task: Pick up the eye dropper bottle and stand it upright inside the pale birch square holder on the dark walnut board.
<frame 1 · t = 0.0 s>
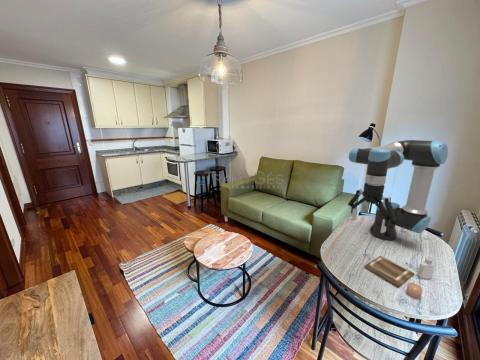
hand: (367, 225, 94), 28 cm above the table, fingers open, 13 cm apart
eye dropper bottle: (424, 277, 99), on the table
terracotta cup: (413, 294, 89), on the table
board: (388, 271, 103), on the table
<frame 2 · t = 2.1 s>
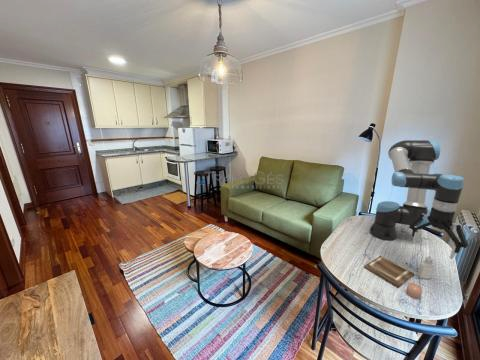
hand: (431, 249, 94), 16 cm above the table, fingers open, 13 cm apart
nothing on the table moved.
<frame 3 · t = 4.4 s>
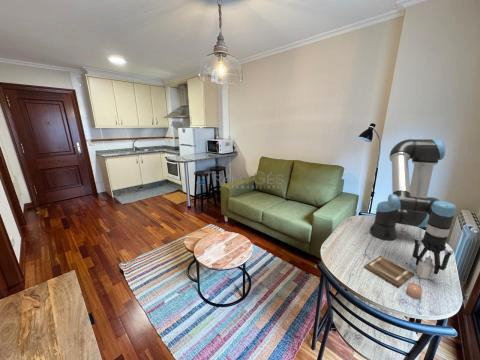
hand: (424, 274, 98), 1 cm above the table, fingers closed on eye dropper bottle, 4 cm apart
eye dropper bottle: (424, 277, 99), on the table, touching gripper
everything else where it was.
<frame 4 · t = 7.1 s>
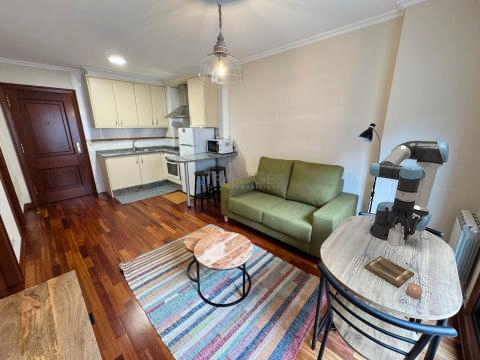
hand: (395, 242, 98), 18 cm above the table, fingers closed on eye dropper bottle, 4 cm apart
eye dropper bottle: (394, 244, 98), point 16 cm above the table, touching gripper
everything else where it was.
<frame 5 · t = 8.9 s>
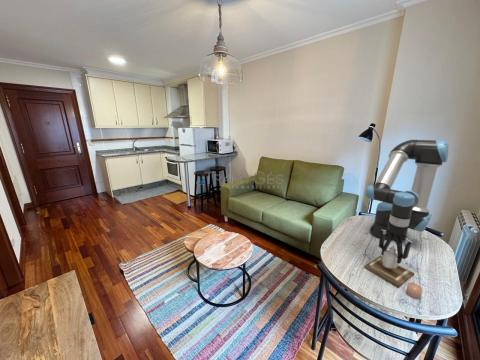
hand: (389, 264, 102), 5 cm above the table, fingers closed on eye dropper bottle, 4 cm apart
eye dropper bottle: (389, 266, 102), point 3 cm above the table, touching gripper
everything else where it was.
when the fingers open (3 cm above the table, at t = 10.2 s): eye dropper bottle stays where it is, resting on board.
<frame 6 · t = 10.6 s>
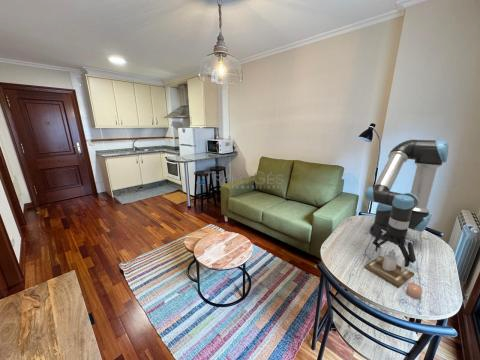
hand: (389, 263, 102), 5 cm above the table, fingers open, 11 cm apart
eye dropper bottle: (388, 269, 103), point 1 cm above the table, touching board
everything else where it was.
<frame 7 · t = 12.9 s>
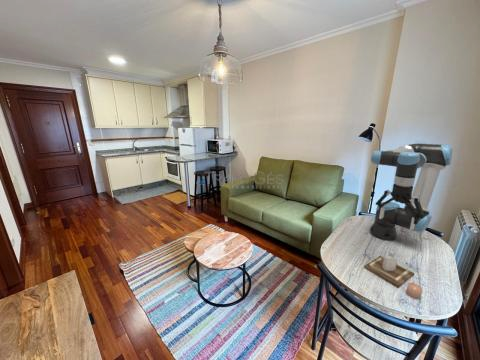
hand: (395, 223, 101), 25 cm above the table, fingers open, 13 cm apart
nothing on the table moved.
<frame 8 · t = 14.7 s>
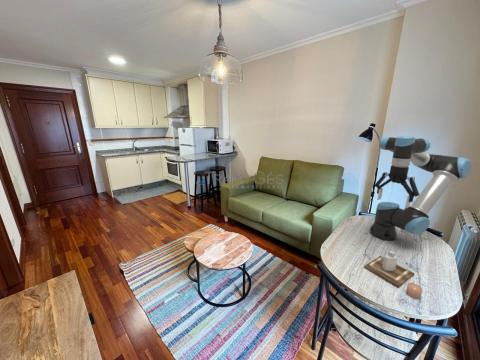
hand: (392, 203, 109), 32 cm above the table, fingers open, 13 cm apart
nothing on the table moved.
at the end: eye dropper bottle inside the target area on the board (0.1 cm from its centre), point 1.0 cm above the board's base; eye dropper bottle tilted 0°; the gripper is holding nothing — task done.
